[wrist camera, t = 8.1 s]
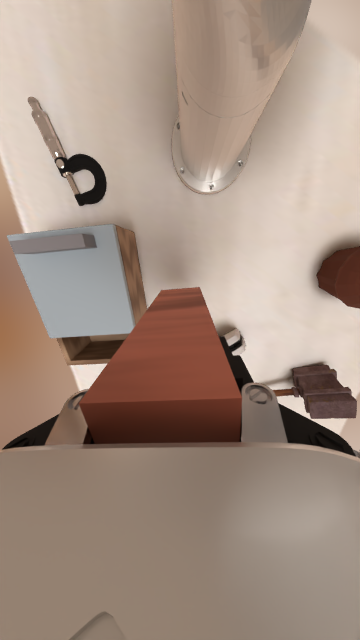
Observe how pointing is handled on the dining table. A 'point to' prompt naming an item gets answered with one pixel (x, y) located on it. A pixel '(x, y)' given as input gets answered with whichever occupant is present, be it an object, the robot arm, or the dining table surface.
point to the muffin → (342, 276)
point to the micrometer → (73, 162)
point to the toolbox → (106, 346)
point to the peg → (167, 380)
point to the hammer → (321, 393)
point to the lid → (76, 280)
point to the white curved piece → (235, 342)
